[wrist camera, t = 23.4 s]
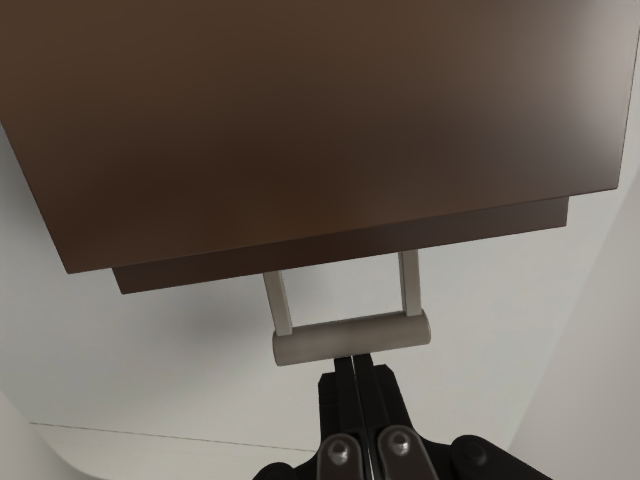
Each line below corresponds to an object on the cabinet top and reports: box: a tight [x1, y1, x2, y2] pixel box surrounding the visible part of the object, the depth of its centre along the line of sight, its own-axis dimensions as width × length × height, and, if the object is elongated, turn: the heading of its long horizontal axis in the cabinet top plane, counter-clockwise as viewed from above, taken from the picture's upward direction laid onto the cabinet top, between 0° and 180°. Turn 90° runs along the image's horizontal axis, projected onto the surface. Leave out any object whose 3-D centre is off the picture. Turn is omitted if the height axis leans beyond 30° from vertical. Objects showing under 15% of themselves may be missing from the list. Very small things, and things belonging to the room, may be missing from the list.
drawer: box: [112, 197, 569, 366], centre depth 11 cm, size 19×13×6 cm
